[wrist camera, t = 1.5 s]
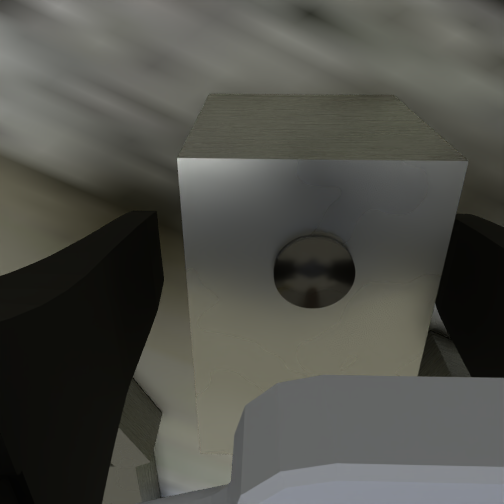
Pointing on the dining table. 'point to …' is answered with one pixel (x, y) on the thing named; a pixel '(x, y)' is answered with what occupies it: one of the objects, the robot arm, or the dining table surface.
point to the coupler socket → (148, 420)
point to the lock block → (309, 243)
